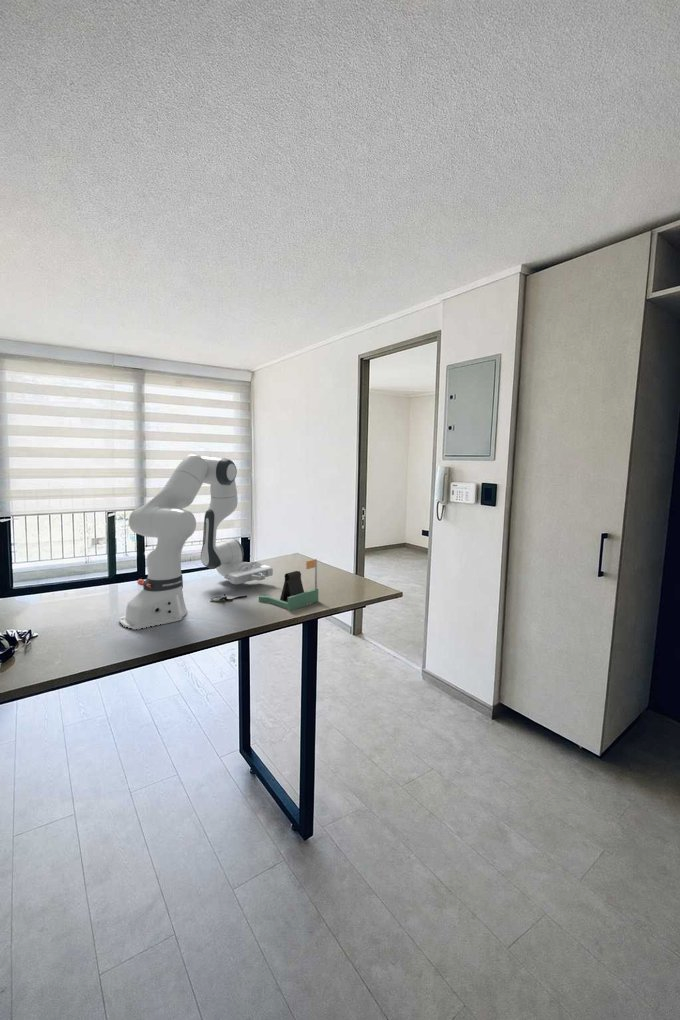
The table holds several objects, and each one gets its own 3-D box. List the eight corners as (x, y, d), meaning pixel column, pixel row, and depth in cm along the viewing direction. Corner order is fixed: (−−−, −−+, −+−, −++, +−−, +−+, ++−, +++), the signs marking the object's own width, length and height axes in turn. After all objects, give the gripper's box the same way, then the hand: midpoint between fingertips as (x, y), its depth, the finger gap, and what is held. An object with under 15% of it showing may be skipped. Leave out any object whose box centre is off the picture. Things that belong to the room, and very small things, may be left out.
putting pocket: (287, 611, 164) (286, 566, 162) (257, 601, 176) (257, 559, 174) (320, 600, 177) (320, 558, 175) (290, 591, 188) (290, 552, 186)
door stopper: (306, 602, 174) (306, 572, 173) (295, 606, 170) (294, 575, 169) (291, 597, 180) (290, 568, 179) (279, 601, 176) (279, 571, 175)
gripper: (221, 569, 188) (241, 575, 179) (260, 561, 203) (280, 566, 194) (222, 584, 189) (241, 590, 180) (261, 574, 204) (280, 580, 195)
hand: (262, 578), depth 187 cm, fingers closed
